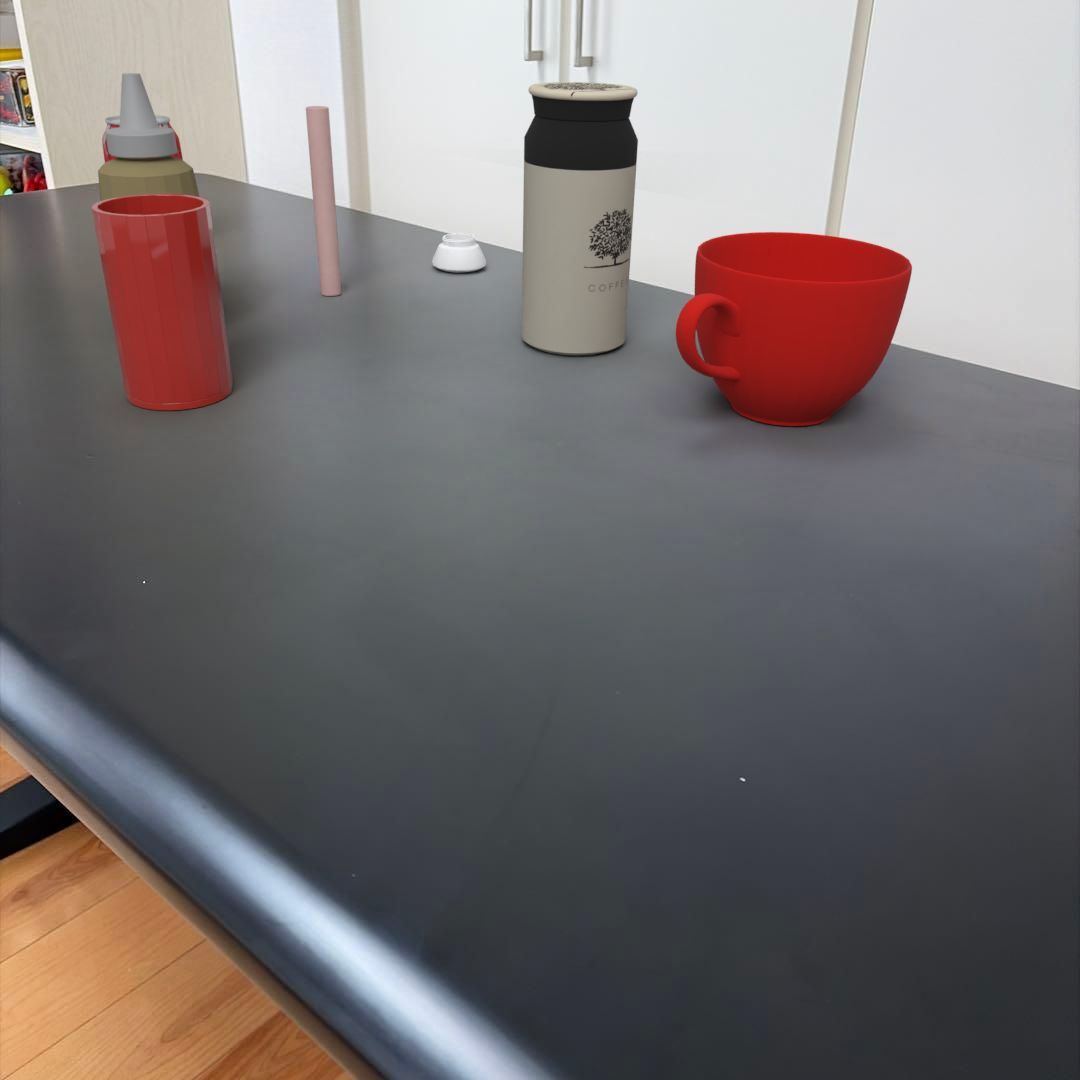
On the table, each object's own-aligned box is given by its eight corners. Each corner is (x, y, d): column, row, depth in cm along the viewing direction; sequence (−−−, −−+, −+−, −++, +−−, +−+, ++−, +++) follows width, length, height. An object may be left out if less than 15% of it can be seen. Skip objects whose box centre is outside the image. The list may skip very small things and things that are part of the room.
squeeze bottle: (111, 346, 75) (61, 79, 67) (118, 315, 82) (74, 69, 74) (225, 339, 78) (191, 79, 69) (223, 309, 84) (192, 68, 76)
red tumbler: (112, 410, 65) (75, 215, 59) (142, 374, 71) (111, 193, 65) (221, 410, 65) (194, 216, 59) (241, 374, 71) (219, 194, 65)
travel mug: (504, 332, 80) (505, 82, 72) (592, 321, 84) (603, 80, 75) (551, 363, 74) (559, 94, 66) (644, 349, 78) (663, 91, 69)
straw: (319, 296, 88) (304, 108, 81) (322, 290, 90) (307, 105, 83) (340, 296, 88) (327, 108, 81) (342, 290, 90) (329, 106, 83)
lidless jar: (426, 272, 96) (478, 276, 95) (425, 240, 94) (478, 244, 94) (440, 260, 100) (490, 263, 100) (440, 229, 99) (490, 232, 98)
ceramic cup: (598, 413, 66) (606, 257, 61) (766, 362, 76) (784, 223, 71) (755, 483, 57) (779, 307, 53) (922, 415, 67) (955, 261, 62)
